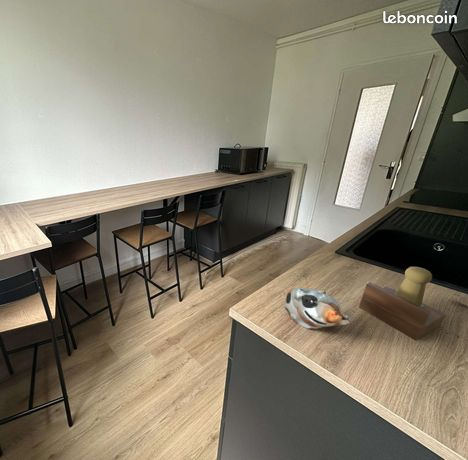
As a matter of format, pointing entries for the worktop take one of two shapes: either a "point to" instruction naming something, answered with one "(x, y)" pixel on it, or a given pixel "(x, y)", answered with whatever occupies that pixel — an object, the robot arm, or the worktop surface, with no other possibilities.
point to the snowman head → (314, 308)
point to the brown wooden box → (400, 311)
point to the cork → (414, 285)
